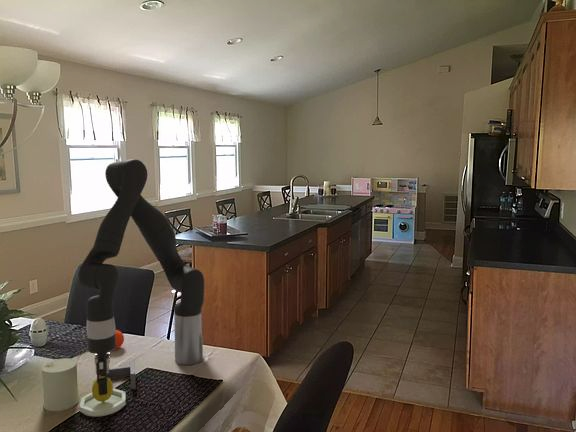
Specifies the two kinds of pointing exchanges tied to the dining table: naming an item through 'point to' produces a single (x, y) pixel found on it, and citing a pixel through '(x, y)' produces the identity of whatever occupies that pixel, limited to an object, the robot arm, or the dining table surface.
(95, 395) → the lemon
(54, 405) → the can
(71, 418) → the dining table surface
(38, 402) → the dining table surface
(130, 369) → the clip
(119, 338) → the clementine
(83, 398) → the dish
